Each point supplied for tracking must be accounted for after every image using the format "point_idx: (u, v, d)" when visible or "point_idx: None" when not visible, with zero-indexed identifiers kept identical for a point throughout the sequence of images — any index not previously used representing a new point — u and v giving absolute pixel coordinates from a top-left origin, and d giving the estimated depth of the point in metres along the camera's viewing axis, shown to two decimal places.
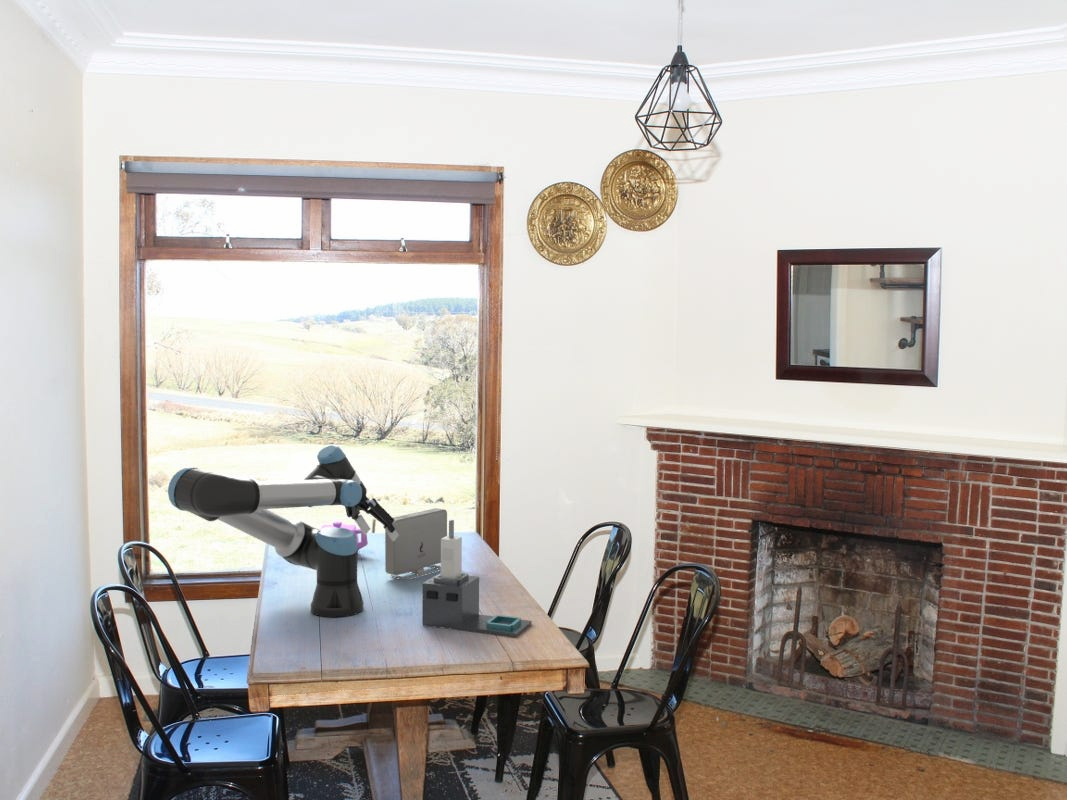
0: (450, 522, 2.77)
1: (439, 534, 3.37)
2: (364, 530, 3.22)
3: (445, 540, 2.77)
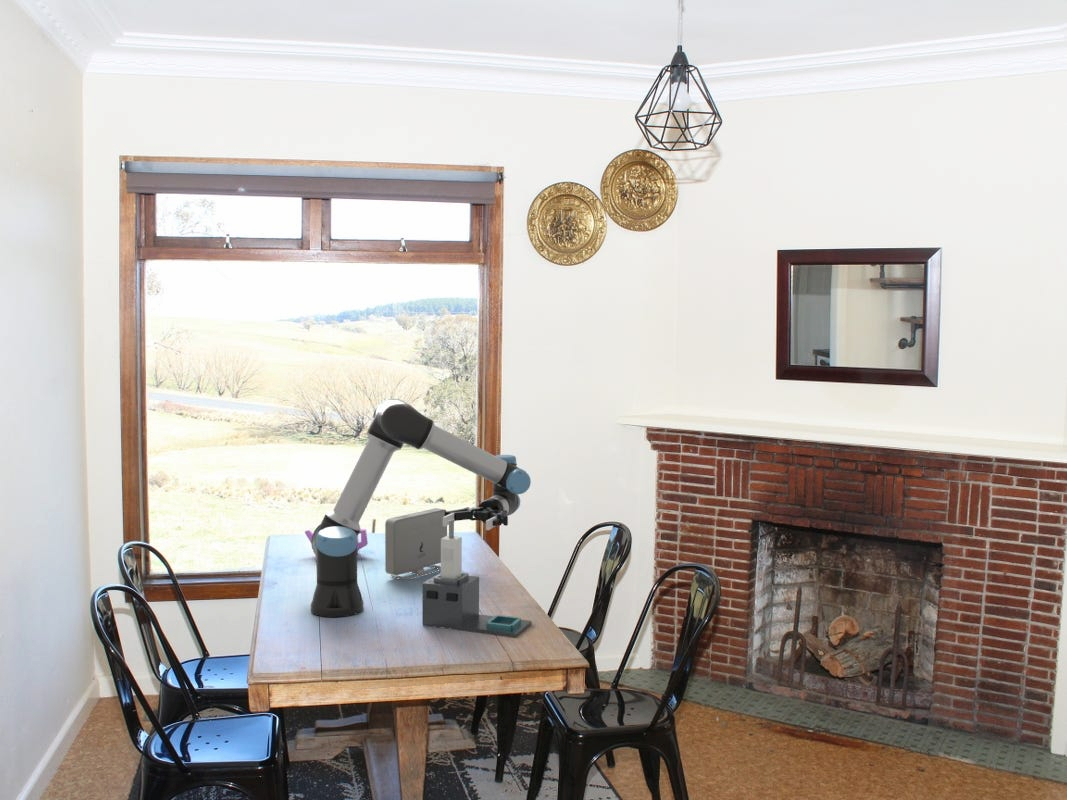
0: (450, 522, 2.77)
1: (439, 534, 3.37)
2: (447, 518, 2.91)
3: (445, 540, 2.77)
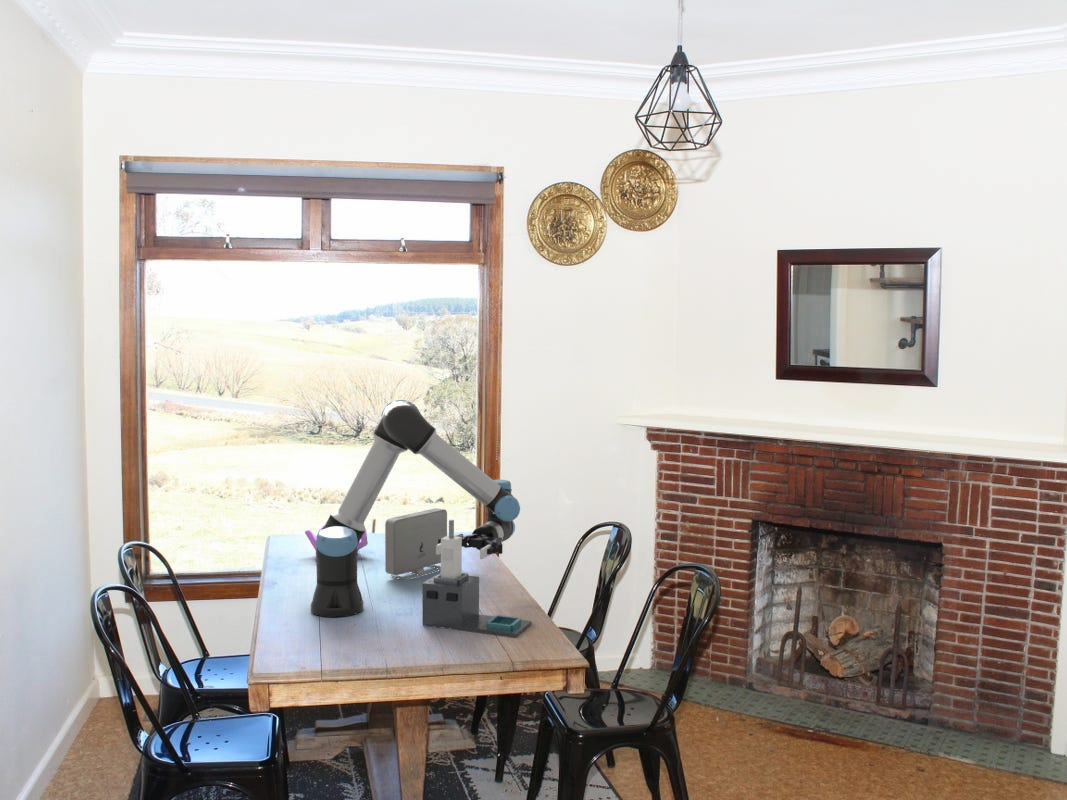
0: (450, 522, 2.77)
1: (439, 534, 3.37)
2: (440, 546, 2.85)
3: (445, 540, 2.77)
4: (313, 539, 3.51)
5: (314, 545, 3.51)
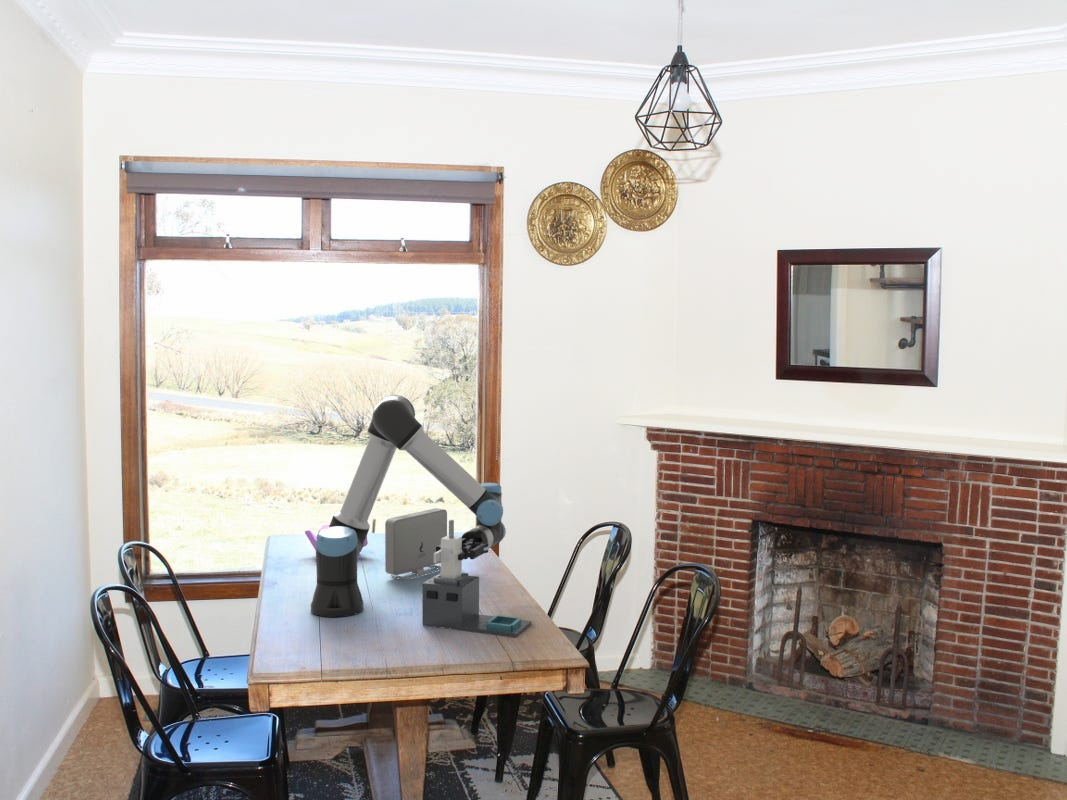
0: (450, 522, 2.77)
1: (439, 534, 3.37)
2: (438, 554, 2.76)
3: (445, 540, 2.77)
4: (313, 539, 3.51)
5: (314, 545, 3.51)
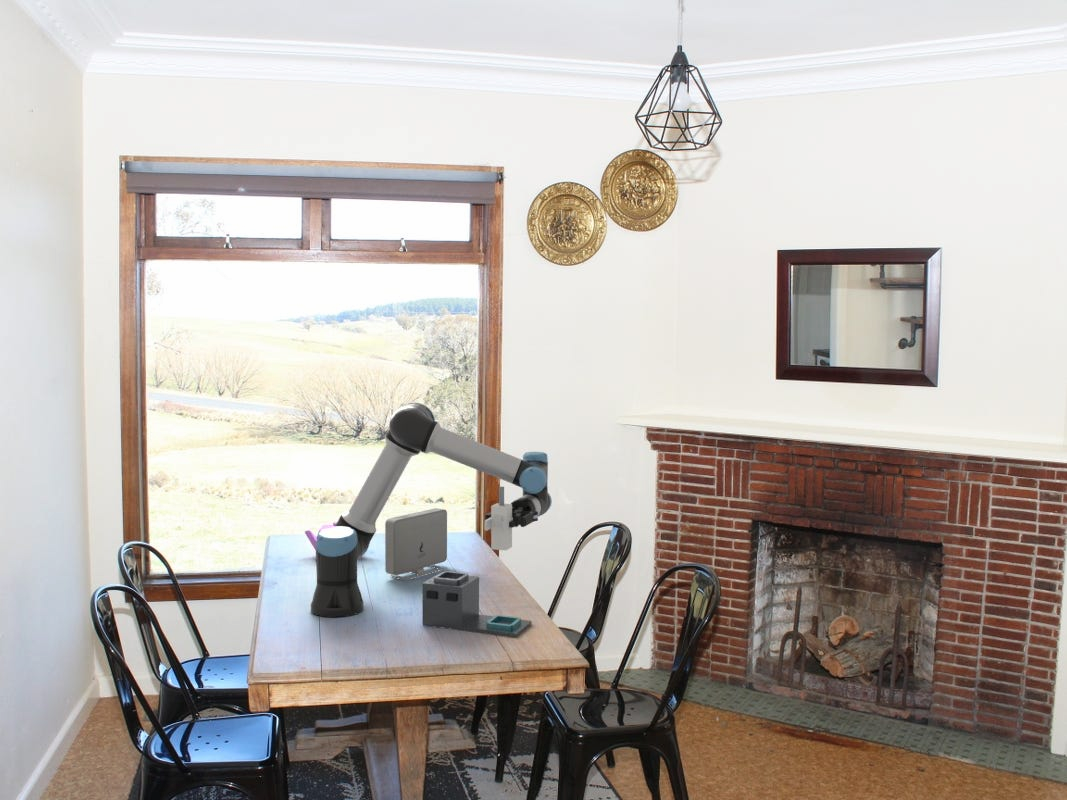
0: (500, 489, 2.72)
1: (439, 534, 3.37)
2: (489, 521, 2.70)
3: (496, 507, 2.71)
4: (313, 539, 3.51)
5: (314, 545, 3.51)
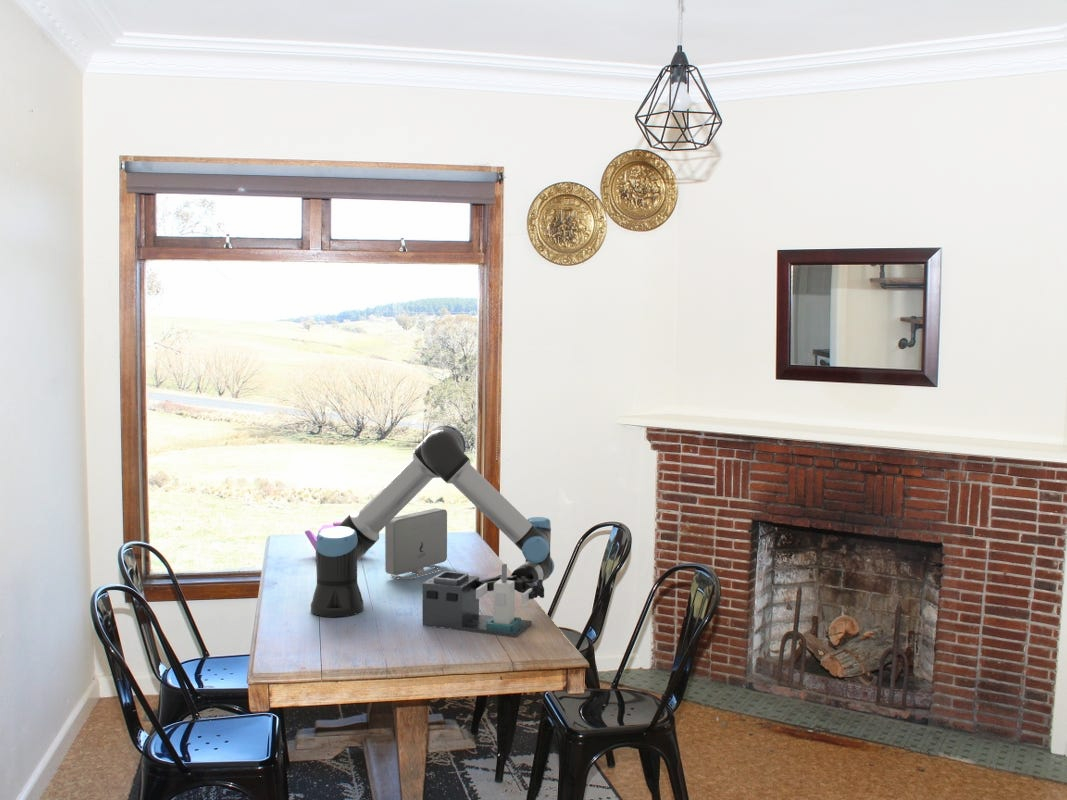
0: (503, 566, 2.73)
1: (439, 534, 3.37)
2: (480, 589, 2.75)
3: (498, 585, 2.72)
4: (313, 539, 3.51)
5: (314, 545, 3.51)
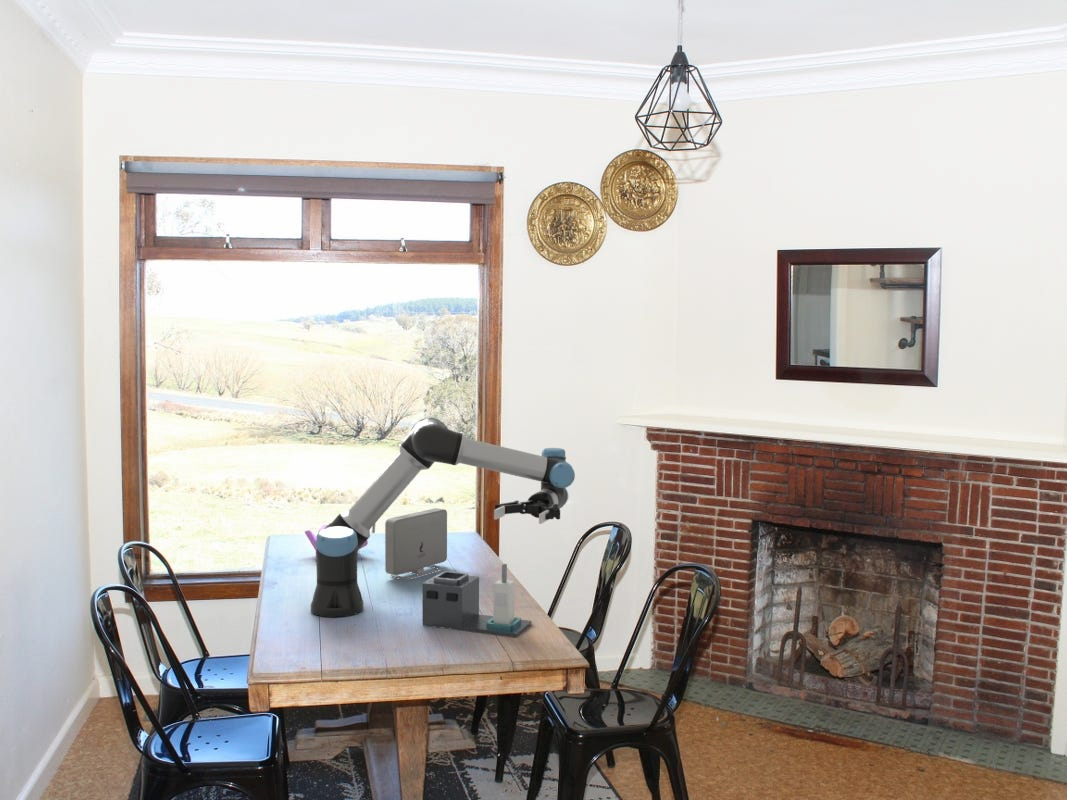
0: (503, 566, 2.73)
1: (439, 534, 3.37)
2: (498, 511, 2.85)
3: (498, 585, 2.72)
4: (313, 539, 3.51)
5: (314, 545, 3.51)
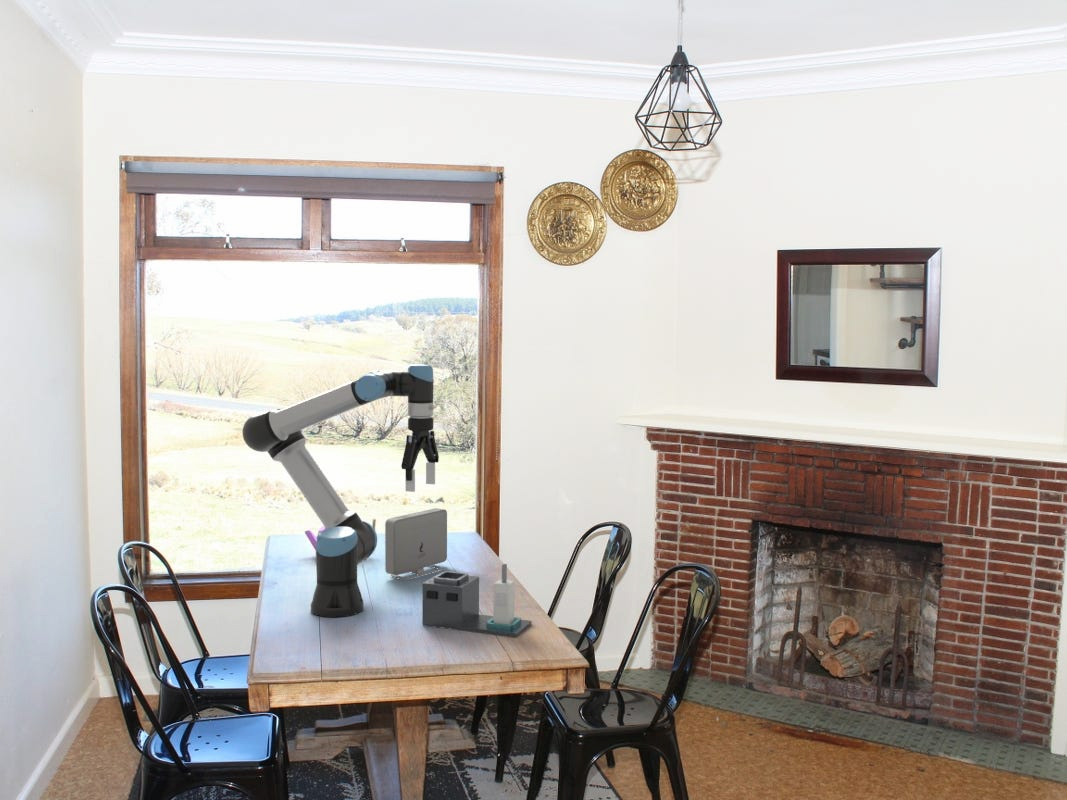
0: (503, 566, 2.73)
1: (439, 534, 3.37)
2: (427, 479, 3.03)
3: (498, 585, 2.72)
4: (313, 539, 3.51)
5: (314, 545, 3.51)
